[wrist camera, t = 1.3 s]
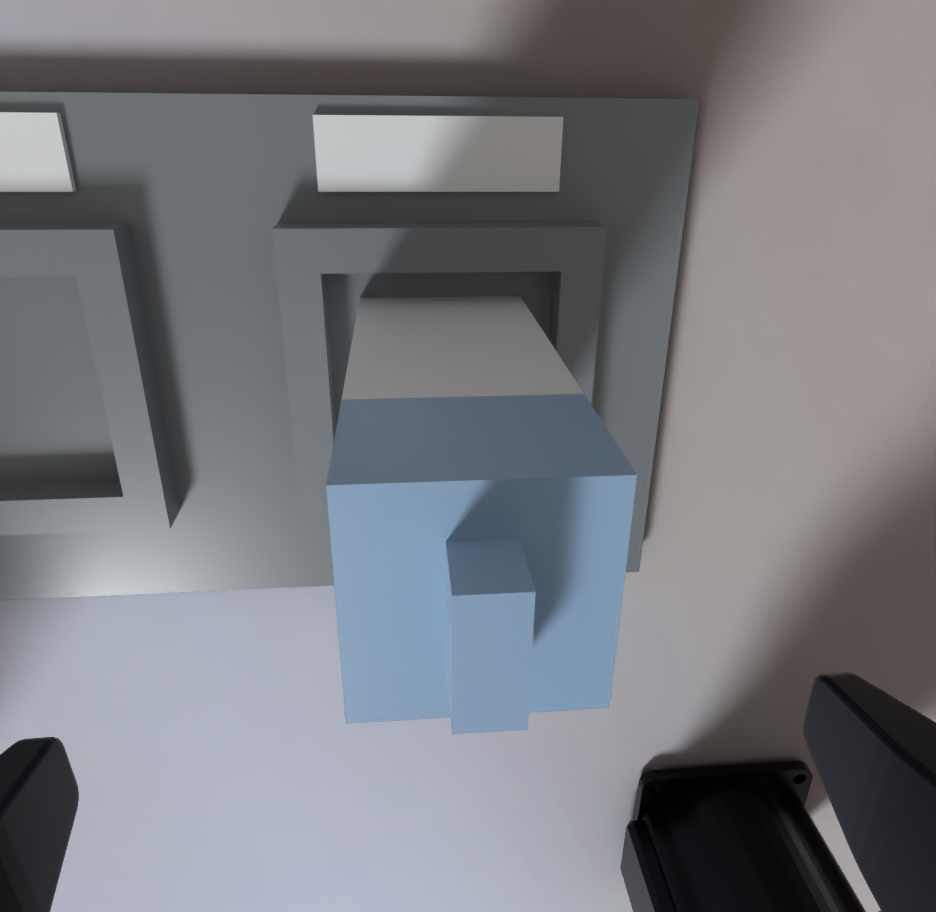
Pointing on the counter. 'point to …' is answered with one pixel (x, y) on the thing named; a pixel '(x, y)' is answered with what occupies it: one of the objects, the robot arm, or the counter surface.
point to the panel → (290, 303)
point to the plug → (472, 520)
